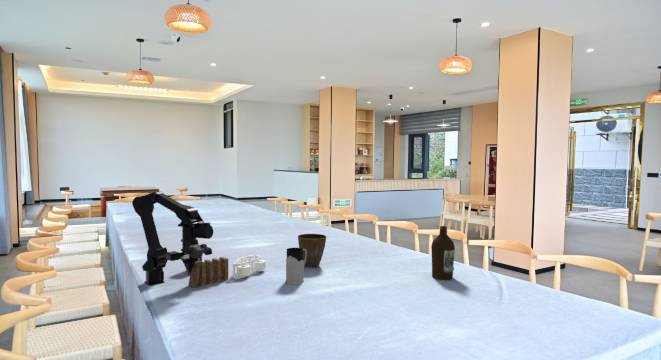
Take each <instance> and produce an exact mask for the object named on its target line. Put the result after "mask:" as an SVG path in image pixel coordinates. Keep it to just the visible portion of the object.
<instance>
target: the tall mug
mask: <svg viewBox="0 0 661 360" xmlns="http://www.w3.org/2000/svg"><path fill="white" fill-rule="evenodd" d="M303 250H305V260H303ZM306 257H307V251H306V249H302V248H299V247H289V248H287V249H286V257H285V260H286V261H285V262H286V263H285V272H286V273H285V280H284V281H285V284H289V285H300V284H303V283H304V282H305V280H304V267H305V266H304V265H305V262H306Z"/></svg>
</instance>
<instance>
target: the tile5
mask: <svg viewBox="0 0 661 360" xmlns="http://www.w3.org/2000/svg"><path fill="white" fill-rule="evenodd" d="M218 259H220V260H221V280H223V281H229V258H228V257H225V256H219V258H218Z"/></svg>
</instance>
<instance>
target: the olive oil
mask: <svg viewBox="0 0 661 360" xmlns="http://www.w3.org/2000/svg"><path fill="white" fill-rule="evenodd" d="M447 228H448V226H447V225H440V226H439V234H438V235H437V236H436V237H434V239H433V240H432V242H431V247H430V249H431V251H430V252H431V276H432V277H431V278H433V279H435V280H439V281H450V280H453V279H454V271H455V267H454V264H455V262H454V261H455V251H456V247H455V242H454V241H453V240H452V238H451V237H449V235H448V229H447Z"/></svg>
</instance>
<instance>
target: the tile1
mask: <svg viewBox="0 0 661 360" xmlns="http://www.w3.org/2000/svg"><path fill="white" fill-rule="evenodd" d="M200 267H201V264H200V263H197V262H195V264H194V266H193V269H192V272H191V273H189V280H188V286H190V287H192V288H198V285H199V284H198V280H199V274H200Z"/></svg>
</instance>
